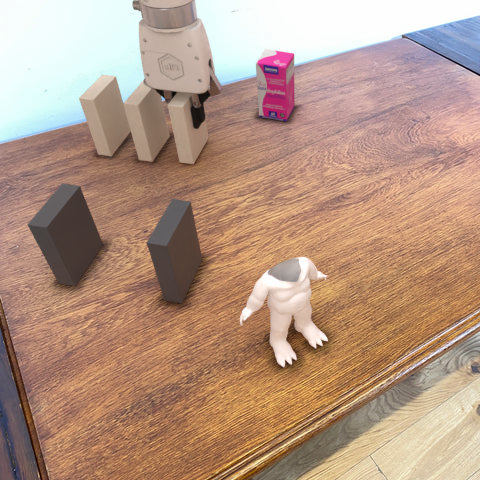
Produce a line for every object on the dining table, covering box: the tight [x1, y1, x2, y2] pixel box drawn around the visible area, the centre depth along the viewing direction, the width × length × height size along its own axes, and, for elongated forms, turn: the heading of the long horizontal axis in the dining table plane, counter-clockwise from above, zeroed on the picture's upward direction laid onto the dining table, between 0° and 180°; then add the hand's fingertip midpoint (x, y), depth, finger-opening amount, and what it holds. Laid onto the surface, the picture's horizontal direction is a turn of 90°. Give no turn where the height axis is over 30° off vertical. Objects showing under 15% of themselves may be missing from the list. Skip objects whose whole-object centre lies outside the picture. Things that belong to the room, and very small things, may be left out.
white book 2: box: [123, 79, 171, 163], centre depth 87 cm, size 2×8×11 cm, turn 170°
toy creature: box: [239, 256, 329, 368], centre depth 59 cm, size 12×6×12 cm, turn 126°
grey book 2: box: [146, 198, 203, 304], centre depth 66 cm, size 2×8×11 cm, turn 170°
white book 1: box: [78, 74, 131, 157], centre depth 88 cm, size 2×8×11 cm, turn 170°
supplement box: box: [255, 48, 295, 122], centre depth 96 cm, size 6×6×12 cm
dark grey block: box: [27, 182, 104, 287], centre depth 68 cm, size 2×8×11 cm, turn 170°
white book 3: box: [167, 92, 210, 165], centre depth 86 cm, size 2×8×11 cm, turn 170°
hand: (189, 122), depth 86 cm, fingers closed on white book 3, 2 cm apart
